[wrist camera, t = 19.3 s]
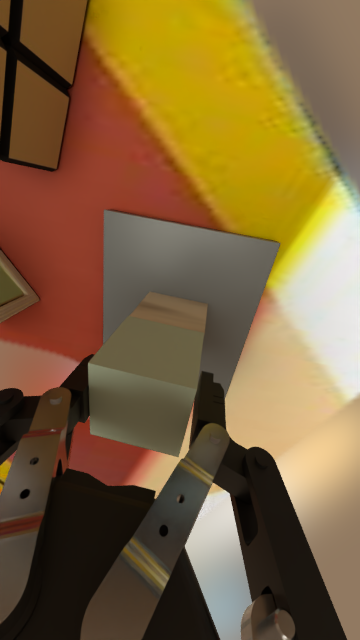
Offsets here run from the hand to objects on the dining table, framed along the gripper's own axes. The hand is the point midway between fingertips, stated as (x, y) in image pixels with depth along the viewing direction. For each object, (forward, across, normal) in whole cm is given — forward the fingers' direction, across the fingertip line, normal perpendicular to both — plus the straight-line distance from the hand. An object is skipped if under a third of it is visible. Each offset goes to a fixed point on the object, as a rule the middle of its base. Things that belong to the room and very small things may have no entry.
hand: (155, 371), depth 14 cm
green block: (+2, 0, 0) cm, 2 cm away
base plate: (+8, 0, 0) cm, 8 cm away
